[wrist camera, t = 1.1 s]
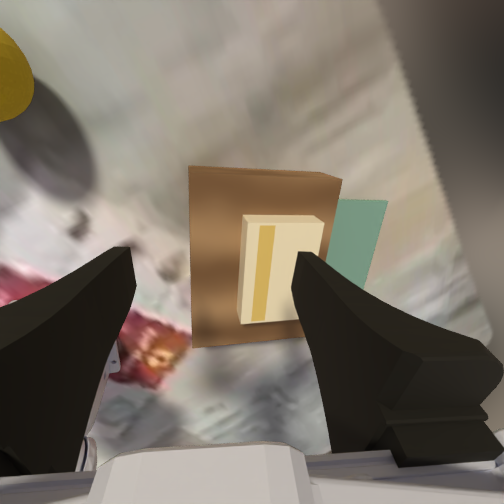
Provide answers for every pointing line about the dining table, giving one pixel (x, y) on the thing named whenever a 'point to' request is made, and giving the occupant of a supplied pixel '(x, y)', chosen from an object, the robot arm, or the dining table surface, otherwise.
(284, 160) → the dining table surface
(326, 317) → the robot arm
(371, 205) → the mat
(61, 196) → the dining table surface
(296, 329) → the brown wooden flat block
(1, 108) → the lemon
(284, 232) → the cream rectangular block
